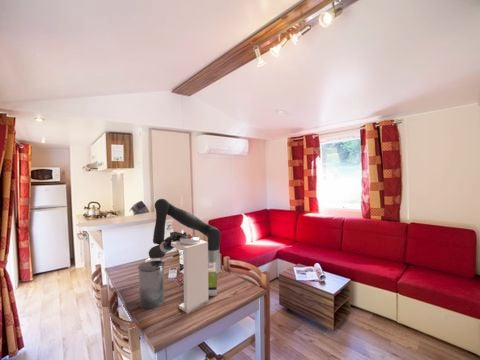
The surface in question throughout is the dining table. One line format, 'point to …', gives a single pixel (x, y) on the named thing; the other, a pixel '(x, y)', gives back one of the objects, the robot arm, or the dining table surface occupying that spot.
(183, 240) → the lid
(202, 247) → the white bookcase side
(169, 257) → the frying pan
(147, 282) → the grey glass jar
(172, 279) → the dining table surface
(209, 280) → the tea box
